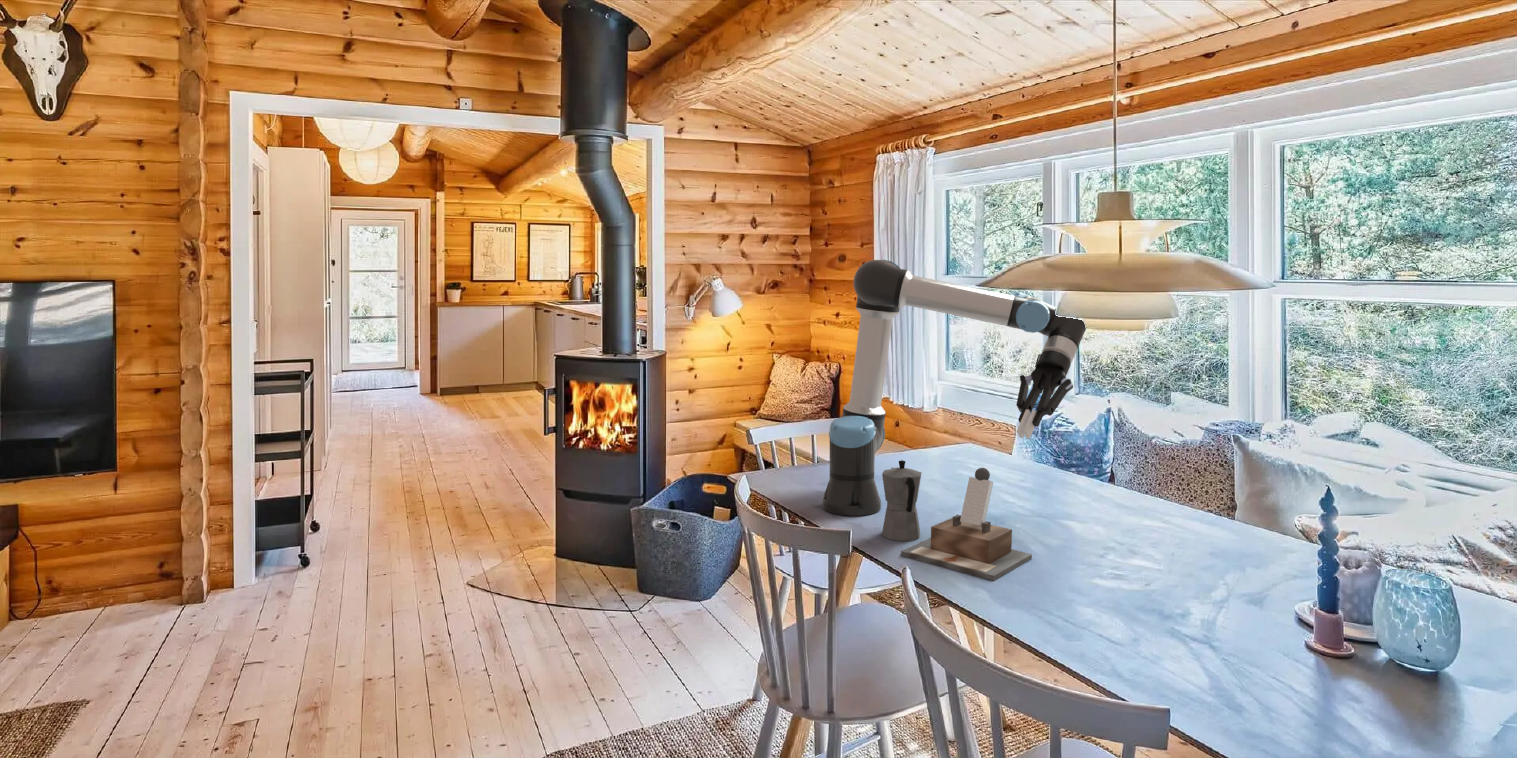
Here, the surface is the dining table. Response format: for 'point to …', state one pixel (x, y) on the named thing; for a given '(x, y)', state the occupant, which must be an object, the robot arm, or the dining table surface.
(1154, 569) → the dining table surface
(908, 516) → the coffeepot
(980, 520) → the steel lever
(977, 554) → the switch unit
